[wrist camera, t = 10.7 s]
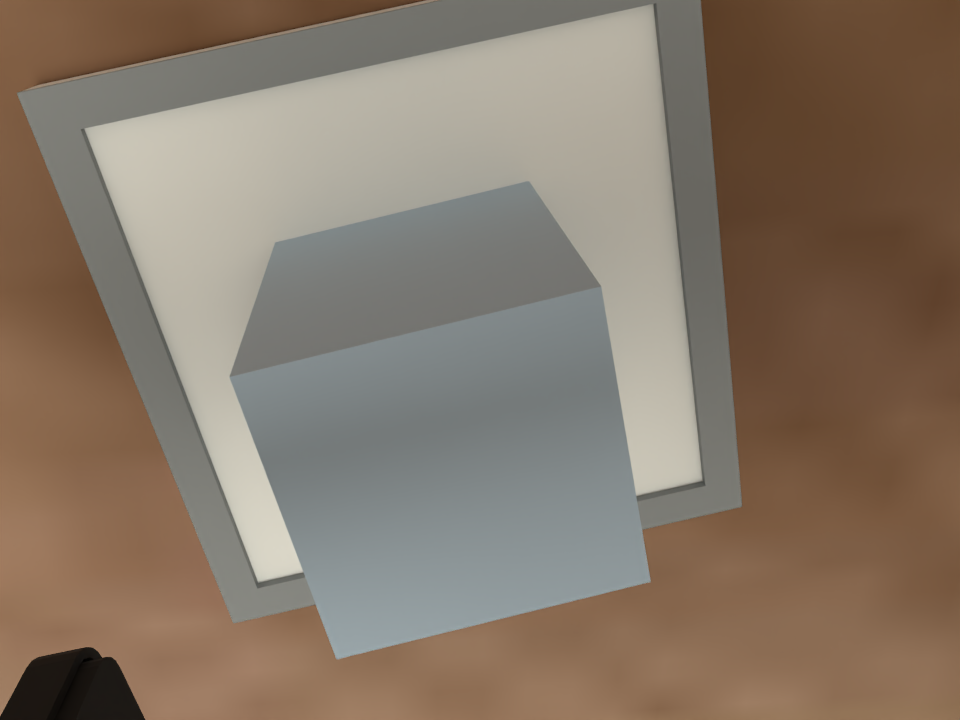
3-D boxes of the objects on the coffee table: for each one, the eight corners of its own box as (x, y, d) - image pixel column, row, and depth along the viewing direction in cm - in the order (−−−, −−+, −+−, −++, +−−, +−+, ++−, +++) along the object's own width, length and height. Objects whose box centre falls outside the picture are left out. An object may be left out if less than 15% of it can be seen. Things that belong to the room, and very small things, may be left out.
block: (528, 181, 17) (601, 286, 12) (572, 404, 19) (650, 581, 14) (275, 242, 17) (229, 376, 12) (347, 459, 19) (336, 659, 14)
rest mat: (678, -55, 16) (696, -56, 15) (726, 483, 22) (742, 506, 21) (36, 85, 16) (16, 93, 15) (239, 594, 21) (233, 623, 20)
